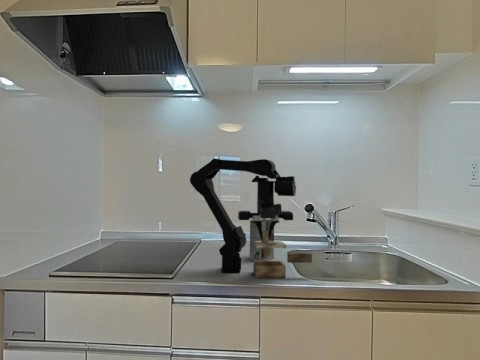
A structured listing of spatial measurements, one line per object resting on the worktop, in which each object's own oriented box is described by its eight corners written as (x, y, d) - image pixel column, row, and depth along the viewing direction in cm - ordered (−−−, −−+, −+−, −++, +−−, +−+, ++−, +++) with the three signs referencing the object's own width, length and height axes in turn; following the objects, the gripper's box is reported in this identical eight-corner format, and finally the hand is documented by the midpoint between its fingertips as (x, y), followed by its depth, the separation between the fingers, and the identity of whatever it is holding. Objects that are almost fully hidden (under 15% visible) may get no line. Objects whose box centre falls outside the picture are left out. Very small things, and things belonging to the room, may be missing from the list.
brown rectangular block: (288, 262, 124) (288, 253, 124) (287, 261, 126) (287, 252, 126) (311, 262, 125) (311, 253, 125) (310, 261, 127) (310, 252, 127)
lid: (256, 248, 123) (256, 233, 123) (253, 243, 131) (254, 229, 131) (286, 248, 124) (286, 233, 124) (281, 243, 132) (281, 229, 132)
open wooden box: (256, 278, 124) (256, 266, 123) (253, 272, 131) (253, 260, 131) (285, 278, 124) (285, 266, 124) (280, 271, 132) (281, 260, 132)
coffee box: (261, 256, 158) (262, 218, 158) (274, 258, 154) (274, 220, 154) (248, 259, 151) (249, 220, 151) (261, 262, 147) (262, 221, 147)
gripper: (240, 196, 120) (240, 244, 120) (297, 196, 121) (296, 244, 121) (238, 194, 131) (237, 238, 131) (289, 195, 132) (289, 238, 133)
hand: (264, 240), depth 129 cm, fingers closed on lid, 2 cm apart
